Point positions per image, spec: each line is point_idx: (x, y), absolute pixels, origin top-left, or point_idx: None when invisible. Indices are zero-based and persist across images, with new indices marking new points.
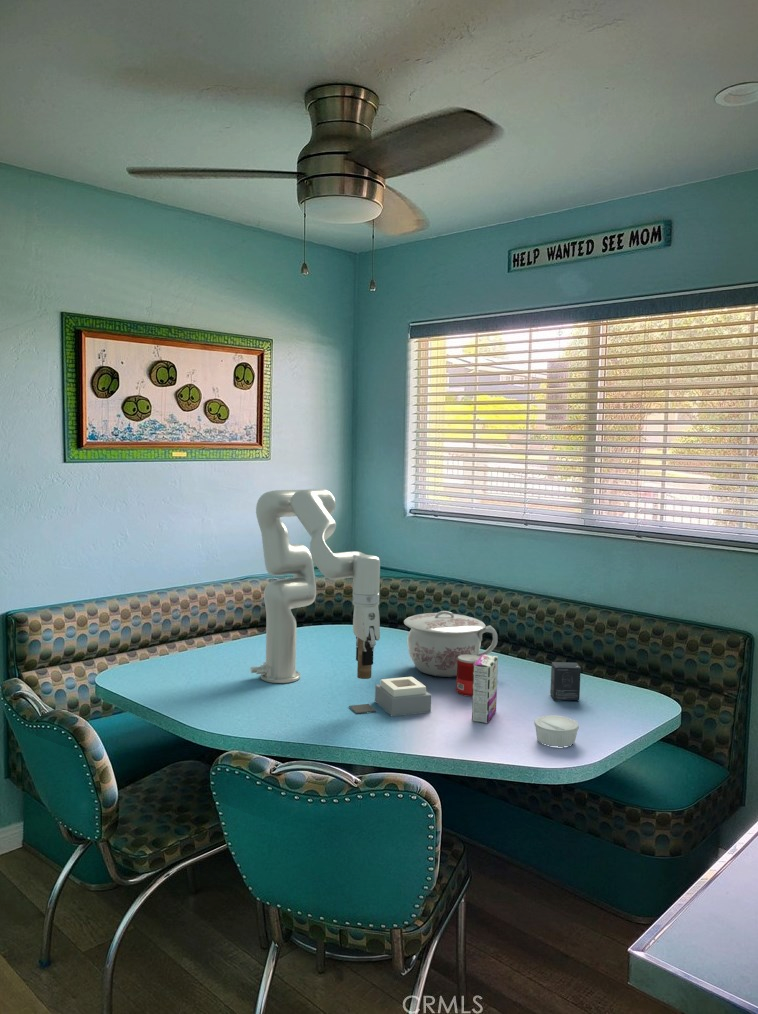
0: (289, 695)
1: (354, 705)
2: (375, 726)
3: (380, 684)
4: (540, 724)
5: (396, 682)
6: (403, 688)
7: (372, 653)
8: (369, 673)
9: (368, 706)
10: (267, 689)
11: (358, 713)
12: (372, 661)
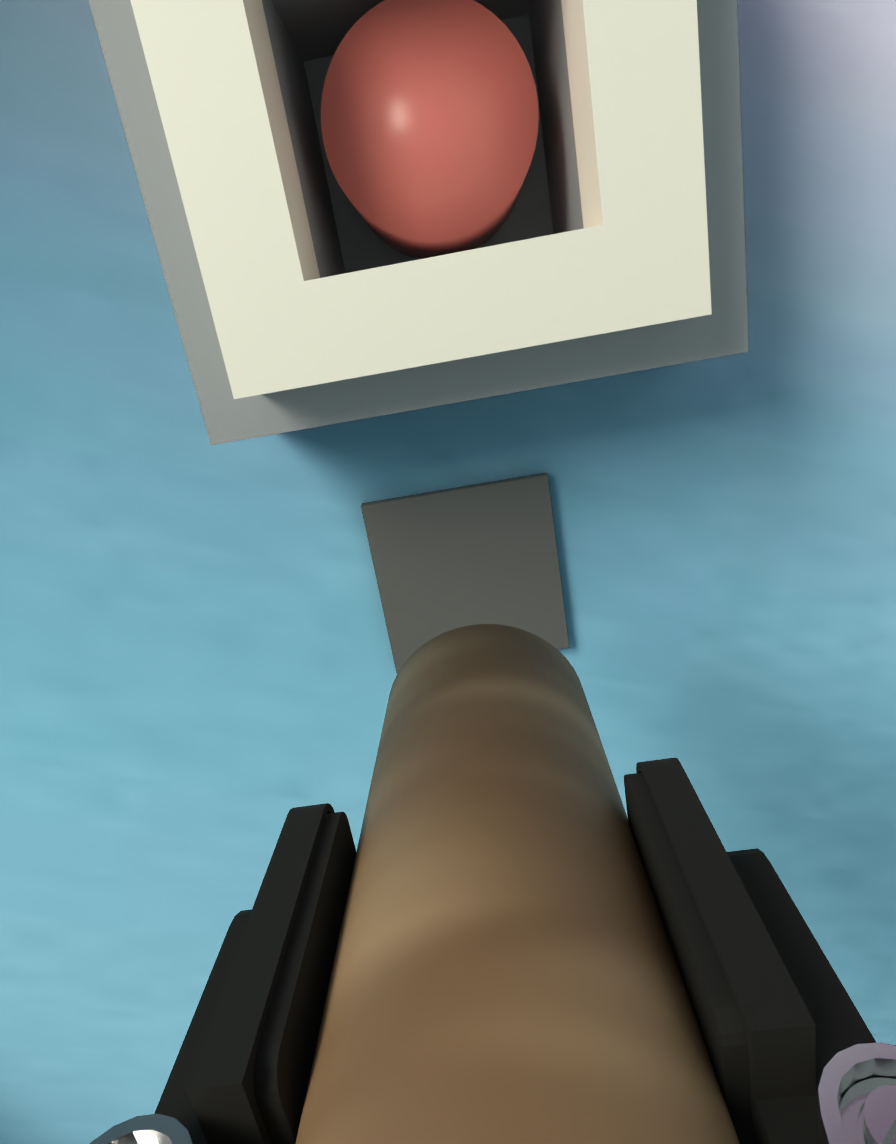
0: (122, 1004)
1: (395, 630)
2: (872, 545)
3: (199, 381)
4: None
5: (287, 168)
6: (679, 144)
7: (772, 967)
8: (585, 701)
9: (433, 520)
10: (5, 1103)
11: (565, 625)
12: (692, 802)
